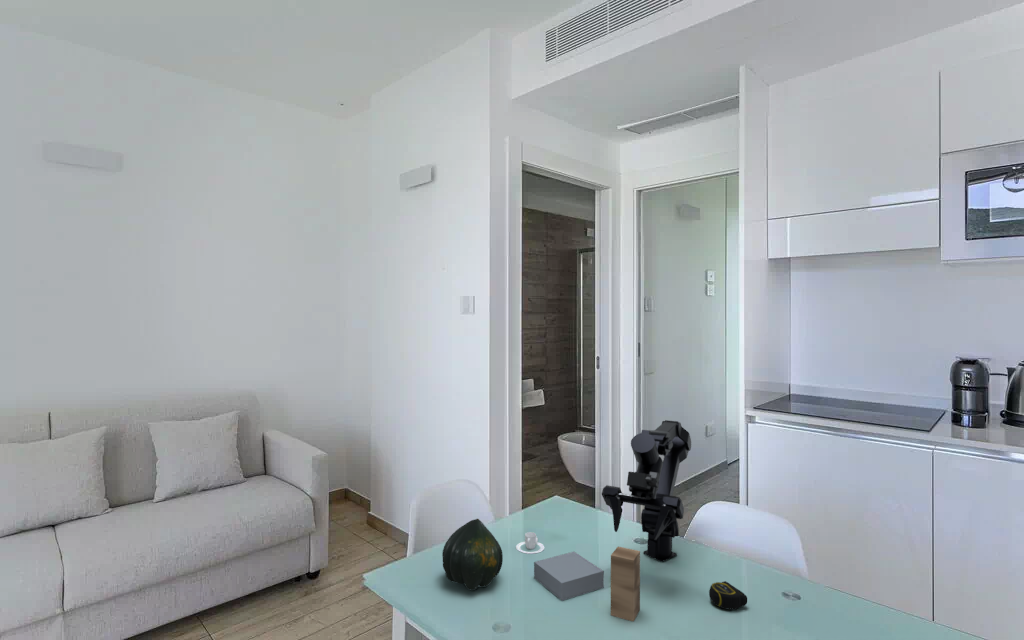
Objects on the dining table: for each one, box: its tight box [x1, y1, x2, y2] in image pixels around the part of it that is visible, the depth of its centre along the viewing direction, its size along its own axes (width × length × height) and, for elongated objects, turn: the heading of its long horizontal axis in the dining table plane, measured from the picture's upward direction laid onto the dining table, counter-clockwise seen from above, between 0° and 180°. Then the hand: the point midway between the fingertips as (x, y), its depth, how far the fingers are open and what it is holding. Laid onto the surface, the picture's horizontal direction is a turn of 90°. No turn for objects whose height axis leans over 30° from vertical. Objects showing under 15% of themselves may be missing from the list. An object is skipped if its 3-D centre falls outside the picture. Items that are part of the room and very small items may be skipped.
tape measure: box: [708, 580, 748, 610], centre depth 119 cm, size 7×7×4 cm
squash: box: [441, 518, 504, 591], centre depth 130 cm, size 14×15×15 cm
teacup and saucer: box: [515, 531, 545, 555], centre depth 149 cm, size 9×8×4 cm
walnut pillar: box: [610, 546, 641, 622], centre depth 116 cm, size 5×5×13 cm
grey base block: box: [533, 550, 605, 602], centre depth 129 cm, size 12×12×4 cm
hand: (634, 535), depth 123 cm, fingers open, 9 cm apart
